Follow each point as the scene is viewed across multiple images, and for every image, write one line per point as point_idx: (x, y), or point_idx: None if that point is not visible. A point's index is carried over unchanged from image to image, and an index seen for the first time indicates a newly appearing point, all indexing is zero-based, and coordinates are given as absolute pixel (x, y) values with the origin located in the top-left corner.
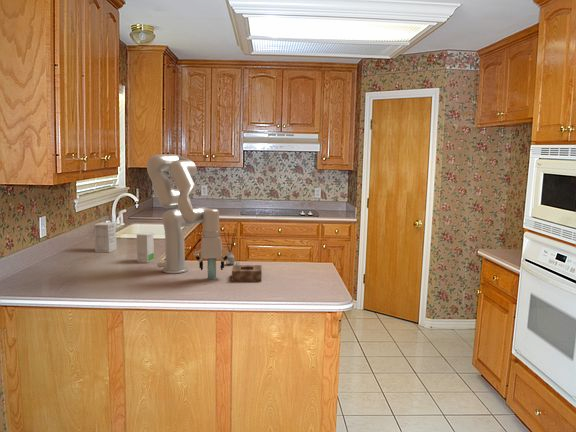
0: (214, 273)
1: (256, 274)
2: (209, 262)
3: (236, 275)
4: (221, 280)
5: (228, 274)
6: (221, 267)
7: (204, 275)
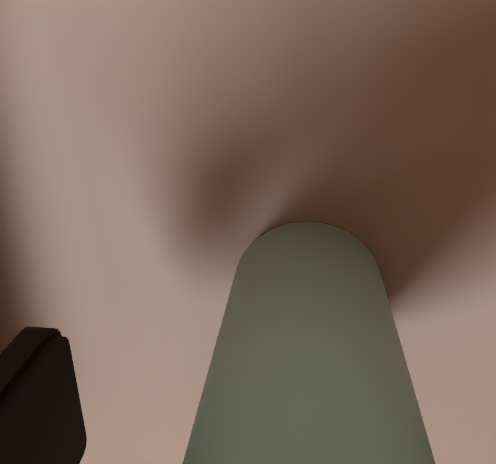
0: (244, 294)
1: None
2: None
3: None
4: (117, 139)
5: None
6: (10, 367)
7: None
